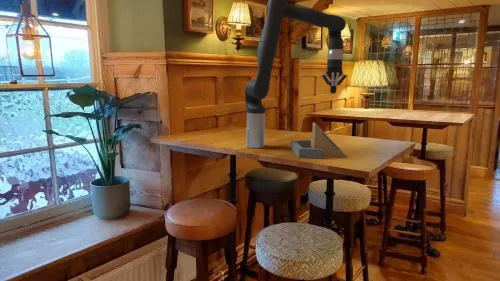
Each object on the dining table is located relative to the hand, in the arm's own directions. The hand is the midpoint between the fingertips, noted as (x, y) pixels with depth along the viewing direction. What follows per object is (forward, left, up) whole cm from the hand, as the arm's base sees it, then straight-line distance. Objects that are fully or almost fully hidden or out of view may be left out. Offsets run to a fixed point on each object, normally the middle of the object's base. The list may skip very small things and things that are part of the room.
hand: (333, 93), depth 185 cm
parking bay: (-18, -19, -27) cm, 37 cm away
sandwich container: (-8, -24, -27) cm, 37 cm away
